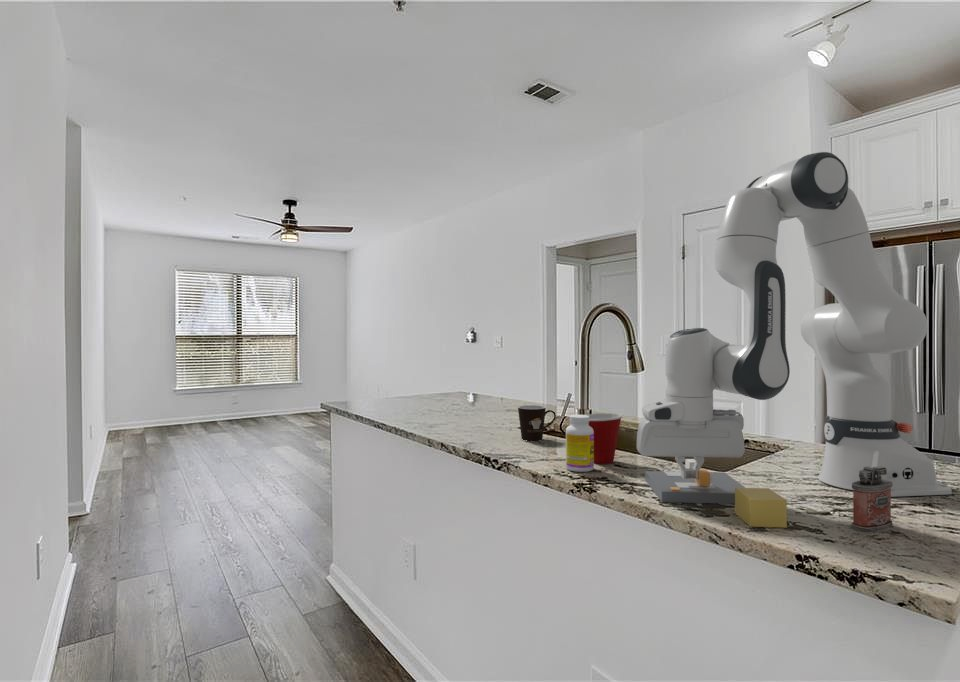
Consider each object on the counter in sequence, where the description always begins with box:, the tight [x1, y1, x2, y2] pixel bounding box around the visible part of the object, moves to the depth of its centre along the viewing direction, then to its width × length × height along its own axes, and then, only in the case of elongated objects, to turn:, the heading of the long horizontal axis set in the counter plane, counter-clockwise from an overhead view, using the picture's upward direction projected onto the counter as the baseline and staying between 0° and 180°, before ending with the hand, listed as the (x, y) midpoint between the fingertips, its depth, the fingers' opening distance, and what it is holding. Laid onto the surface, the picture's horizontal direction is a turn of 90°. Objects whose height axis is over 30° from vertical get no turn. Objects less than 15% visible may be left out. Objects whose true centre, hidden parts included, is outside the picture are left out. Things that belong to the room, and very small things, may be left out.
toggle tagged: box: [695, 468, 710, 486], centre depth 103 cm, size 2×3×2 cm, turn 174°
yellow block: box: [734, 487, 788, 529], centre depth 90 cm, size 6×7×5 cm
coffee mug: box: [517, 404, 557, 442], centre depth 160 cm, size 12×9×10 cm
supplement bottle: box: [565, 414, 595, 473], centre depth 124 cm, size 7×7×13 cm
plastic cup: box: [586, 412, 623, 465], centre depth 132 cm, size 11×11×12 cm
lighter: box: [851, 466, 893, 534], centre depth 86 cm, size 8×3×10 cm, turn 113°
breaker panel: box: [644, 470, 746, 505], centre depth 106 cm, size 17×15×2 cm
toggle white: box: [684, 458, 696, 468], centre depth 112 cm, size 2×3×2 cm, turn 174°
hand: (689, 478), depth 104 cm, fingers closed
